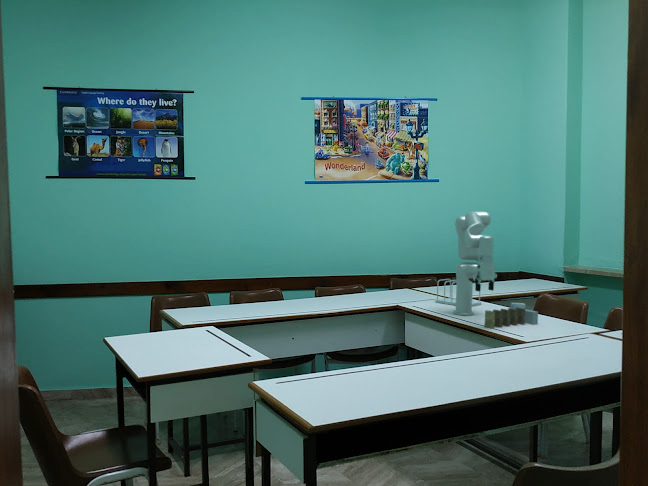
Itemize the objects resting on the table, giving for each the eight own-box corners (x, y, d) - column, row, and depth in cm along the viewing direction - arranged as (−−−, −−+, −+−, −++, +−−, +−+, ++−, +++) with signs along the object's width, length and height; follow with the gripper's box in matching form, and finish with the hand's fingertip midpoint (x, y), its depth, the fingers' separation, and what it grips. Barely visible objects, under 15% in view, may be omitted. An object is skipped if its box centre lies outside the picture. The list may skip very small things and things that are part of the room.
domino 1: (491, 328, 339) (492, 312, 339) (484, 326, 344) (485, 310, 343) (494, 328, 340) (495, 311, 340) (487, 326, 345) (487, 310, 344)
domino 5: (522, 324, 352) (522, 308, 351) (514, 323, 356) (515, 307, 356) (524, 324, 353) (525, 308, 352) (517, 322, 357) (517, 307, 357)
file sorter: (481, 305, 419) (482, 281, 418) (467, 307, 407) (468, 284, 406) (449, 300, 436) (450, 278, 435) (435, 302, 424) (436, 279, 423)
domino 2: (499, 327, 342) (500, 311, 342) (492, 325, 347) (493, 309, 346) (502, 327, 343) (502, 311, 343) (494, 325, 348) (495, 309, 347)
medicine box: (523, 317, 375) (524, 303, 375) (525, 318, 371) (525, 304, 370) (510, 316, 376) (510, 302, 376) (511, 318, 372) (512, 303, 371)
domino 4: (514, 325, 349) (515, 309, 348) (507, 324, 353) (508, 308, 352) (517, 325, 350) (517, 309, 349) (509, 323, 354) (510, 308, 353)
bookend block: (532, 324, 353) (533, 312, 352) (518, 321, 361) (519, 309, 361) (537, 324, 355) (538, 311, 354) (523, 320, 363) (524, 309, 363)
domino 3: (507, 326, 345) (507, 310, 345) (500, 324, 350) (500, 309, 349) (509, 326, 346) (510, 310, 346) (502, 324, 351) (503, 308, 350)
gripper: (478, 260, 329) (477, 292, 330) (502, 259, 338) (501, 290, 339) (468, 258, 335) (467, 290, 337) (492, 258, 344) (490, 288, 345)
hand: (484, 290), depth 338 cm, fingers open, 9 cm apart
